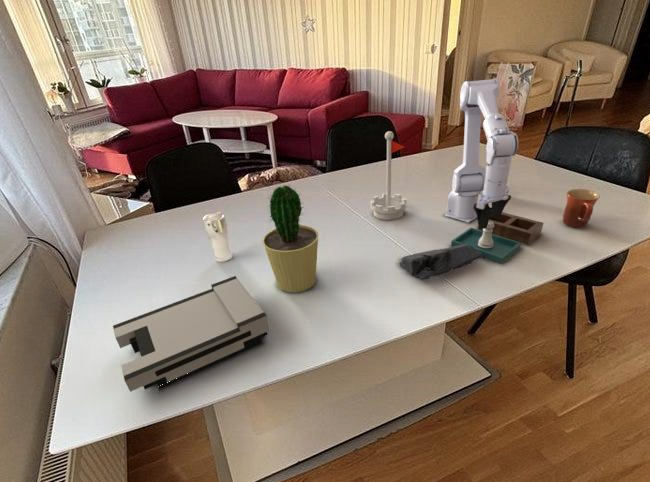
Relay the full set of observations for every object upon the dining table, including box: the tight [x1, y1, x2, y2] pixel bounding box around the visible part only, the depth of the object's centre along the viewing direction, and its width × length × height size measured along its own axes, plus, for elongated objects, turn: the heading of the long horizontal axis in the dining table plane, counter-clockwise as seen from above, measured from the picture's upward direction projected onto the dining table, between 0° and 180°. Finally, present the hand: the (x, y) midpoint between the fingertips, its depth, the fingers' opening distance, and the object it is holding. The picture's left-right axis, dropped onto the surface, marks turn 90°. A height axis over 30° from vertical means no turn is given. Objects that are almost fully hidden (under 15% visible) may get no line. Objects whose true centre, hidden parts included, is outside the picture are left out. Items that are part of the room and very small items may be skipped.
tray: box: [450, 227, 522, 265], centre depth 121 cm, size 16×11×2 cm
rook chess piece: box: [478, 221, 494, 249], centre depth 119 cm, size 4×4×8 cm
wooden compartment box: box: [477, 211, 544, 246], centre depth 127 cm, size 16×9×4 cm, turn 42°
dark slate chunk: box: [399, 245, 483, 280], centre depth 114 cm, size 15×22×5 cm
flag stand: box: [370, 130, 408, 221], centre depth 140 cm, size 13×13×30 cm
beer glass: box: [202, 211, 234, 263], centre depth 128 cm, size 7×7×15 cm
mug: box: [562, 188, 601, 229], centre depth 124 cm, size 12×9×10 cm
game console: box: [112, 275, 271, 393], centre depth 95 cm, size 21×32×8 cm, turn 120°
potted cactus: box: [262, 184, 319, 293], centre depth 108 cm, size 15×15×30 cm
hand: (488, 222), depth 117 cm, fingers open, 7 cm apart
